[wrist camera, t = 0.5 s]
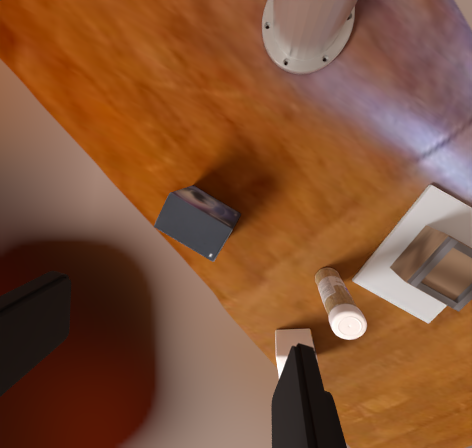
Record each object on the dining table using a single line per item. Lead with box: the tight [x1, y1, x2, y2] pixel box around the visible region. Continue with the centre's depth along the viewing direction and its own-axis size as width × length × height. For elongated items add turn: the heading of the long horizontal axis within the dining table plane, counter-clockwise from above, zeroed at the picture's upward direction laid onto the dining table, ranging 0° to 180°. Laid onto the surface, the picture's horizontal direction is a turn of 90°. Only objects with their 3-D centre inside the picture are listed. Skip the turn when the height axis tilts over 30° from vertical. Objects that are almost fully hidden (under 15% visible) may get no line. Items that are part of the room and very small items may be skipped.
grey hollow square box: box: [390, 225, 472, 311], centre depth 37 cm, size 9×9×6 cm
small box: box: [154, 185, 241, 261], centre depth 39 cm, size 11×6×10 cm, turn 61°
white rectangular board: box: [352, 185, 472, 324], centre depth 40 cm, size 20×16×1 cm
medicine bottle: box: [275, 329, 318, 378], centre depth 43 cm, size 7×7×12 cm
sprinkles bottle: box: [315, 268, 367, 340], centre depth 38 cm, size 5×5×13 cm
